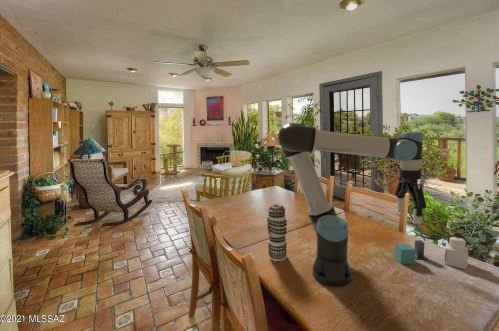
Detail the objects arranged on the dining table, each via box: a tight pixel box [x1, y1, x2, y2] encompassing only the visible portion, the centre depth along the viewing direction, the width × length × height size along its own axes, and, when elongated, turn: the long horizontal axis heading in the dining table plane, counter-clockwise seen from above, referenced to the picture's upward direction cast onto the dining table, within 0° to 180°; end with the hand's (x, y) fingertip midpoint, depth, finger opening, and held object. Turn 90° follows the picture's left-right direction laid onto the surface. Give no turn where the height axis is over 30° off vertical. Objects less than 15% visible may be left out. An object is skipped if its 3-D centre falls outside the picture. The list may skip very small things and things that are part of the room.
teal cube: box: [394, 243, 416, 265], centre depth 107 cm, size 6×6×7 cm
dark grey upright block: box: [414, 239, 429, 261], centre depth 110 cm, size 5×5×7 cm
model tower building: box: [266, 203, 288, 262], centre depth 113 cm, size 9×9×25 cm
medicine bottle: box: [444, 234, 469, 270], centre depth 103 cm, size 7×7×12 cm
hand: (408, 217), depth 105 cm, fingers open, 13 cm apart
